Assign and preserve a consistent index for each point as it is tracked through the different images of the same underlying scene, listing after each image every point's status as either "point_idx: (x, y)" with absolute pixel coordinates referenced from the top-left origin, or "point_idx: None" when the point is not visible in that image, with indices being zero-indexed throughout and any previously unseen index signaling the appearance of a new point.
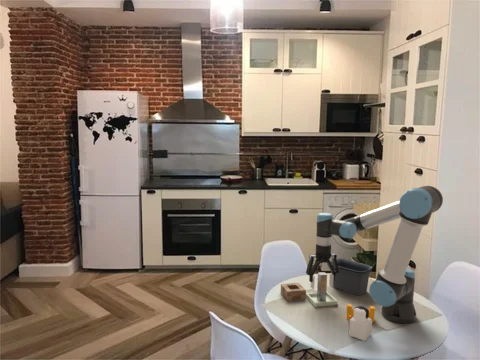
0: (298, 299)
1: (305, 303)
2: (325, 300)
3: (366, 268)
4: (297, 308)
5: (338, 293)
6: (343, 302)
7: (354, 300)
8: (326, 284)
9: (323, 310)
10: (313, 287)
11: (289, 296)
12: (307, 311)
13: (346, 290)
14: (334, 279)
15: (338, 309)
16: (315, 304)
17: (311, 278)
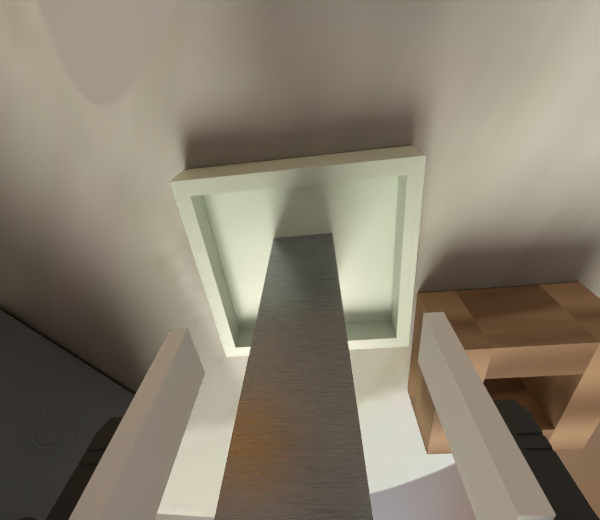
0: (481, 292)
1: (455, 231)
2: (278, 240)
3: None
4: (591, 141)
5: (144, 350)
6: (123, 219)
7: (28, 244)
8: (252, 355)
9: (358, 65)
10: (442, 326)
11: (586, 306)
12: (539, 56)
13: (79, 369)
14: (102, 431)
15: (193, 74)
16: (418, 152)
17: (541, 469)
